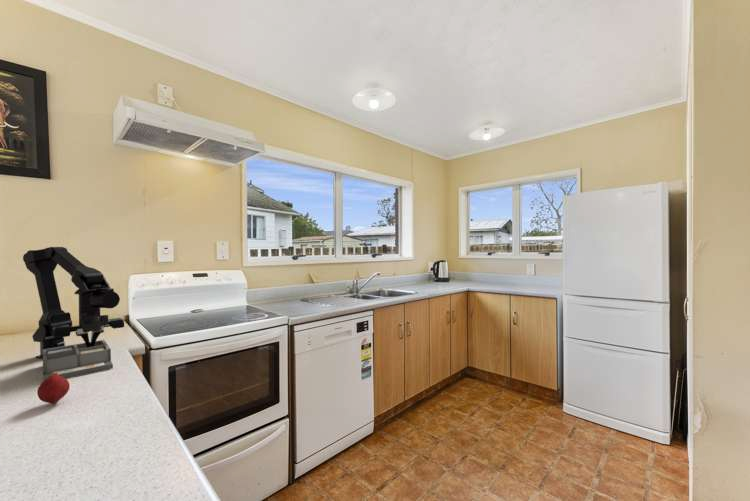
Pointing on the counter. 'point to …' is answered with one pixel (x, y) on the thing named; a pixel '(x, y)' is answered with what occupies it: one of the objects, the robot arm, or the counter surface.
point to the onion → (53, 388)
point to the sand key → (91, 350)
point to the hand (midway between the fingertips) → (90, 351)
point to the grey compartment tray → (77, 360)
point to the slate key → (60, 350)
